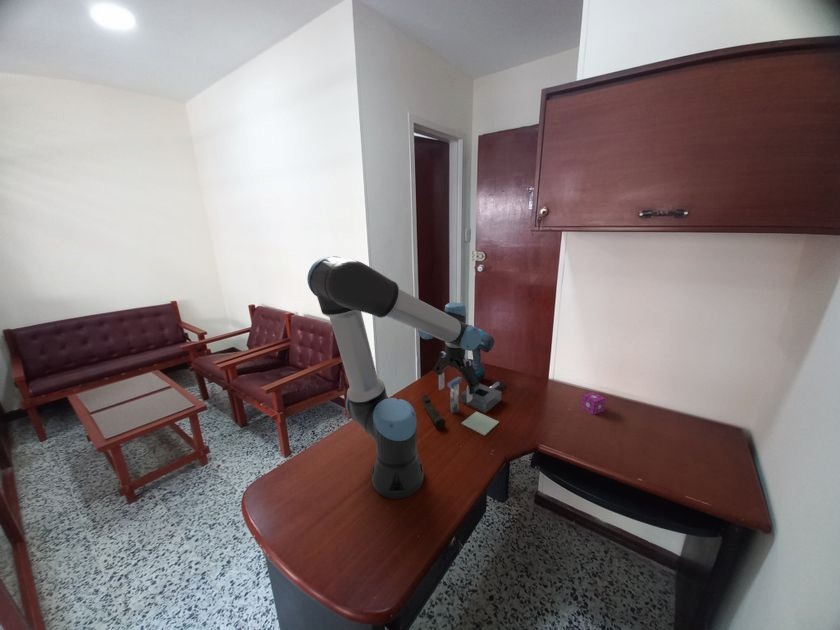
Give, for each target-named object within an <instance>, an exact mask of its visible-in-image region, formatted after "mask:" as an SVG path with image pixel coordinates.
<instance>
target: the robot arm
mask: <svg viewBox="0 0 840 630" xmlns="http://www.w3.org/2000/svg"><path fill="white" fill-rule="evenodd" d="M307 285H308V288H309V290H310V291H311V293H312V294H313V295H314V296H316V297H317V300H318V304H319V307H320V311H321V314H323V315H324V316H326V317H328V318H329V320H330V323H331V327H332V330H333V333H334V337H335V341H336V344H337V347H338V351H339V354H340V358H341V362H342V365H343V367H344V372H345V375H346V379H347V382H348V385H349V387H348V389H347V390H346V391H347V392H346V399H345V408H346V411H347V414H348V415H349V417H350V418H351V419H352V420H353V421H354V422H355V423H357V424H358V425H359V426H360V427H361V429H362V430H363V431H364V432H366V434H368V436H369V437H370V438H371V439H372V440H374V442H375V452H376V453H375V454H376V458H375V461H374V466H373V468H372V472H371V480H372V481H371V482H372V485H373V488H374V490H375V491H376V493H378V494H379V495H380V496H382V497H384V498H387V499H393V500H398V499H404V498H408V497H411V496H412V495H413V494H415V493H416V492H417V491H418V490H419V489H420V488H421V486H422V485H423V482H424V467H423V464H422V462H421V459H420V457H419V455H418V440H417V439H418V438H417V436H418V435H417V432H418V431H417V427H418V425H417V424H418V421H417V416H416V410H415V408H414V407H413V406H412V404H411V403H410V402H409V401H406V400H404V399H403V398H399V399H397V398H396V397H390V398H389V396H388V395H387V394H388V393H387V390H386V385H385V382H384V380H382V379H381V378H378V374H377V371H376V367H375V362H374V359H373V357H374V356H373V354H372V351H371V345H370V342H369V338H368V334H367V330H366V325H365V321H364V318H363V313H365V314H370V315H372V316H375V317H377V318H380V319H381V318H386V317H387V318H389V319H392V320H394V321H397V322H399V323H401V324H404V325H406V326H408V327H412V328H413V329H415V330H417V333H418V335H419V336H420V338H421V339H424V340H429V339H430V340H431V339H434V338H435V339H438V340H440V341H443V342H444V343H445V344H444V350H442V351H440V352H439V353H438V358H437V361H436V363H435V364H434V366H433V369H432V370H433V372H435V373H436V374H437V376H436V377H437V382H438V390H439V391H441V390H443V389H444V388H445V373H444V372H445V370H447V368H448V367H451V368H454V369H456V370H458V372H460V374H461V375H462V377H463V379H464V380H465V382H466V383H467V386H466V390H467V402H470V401H471V400H472V394H473V393H474V387H476V386H478V385H479V383H480V381H478V379H477V376H476V373H475V371H474V368H473V365H472V361H473V359H469V360H468V359H466V357H465V356H466V351H471V352H472V350H474V349H476V348H477V346H478V345H479V343H480V340H481V333H480V330H481V329H480V328H478V327H475V326H473V325H472V324H468V323H467V309H466V305H465V304H464V303H461V302H448V303H447V304H445V306H444V311H442V310H440V309H438V308H436V307H434V306H432V305H430V304H429V303H426V302H425V301H422V299H419V298H418V297H415V296H413V295H411V294H409V293H407V292H406V291H404V290H402V289H400V287H399V284H398V283H397V282H396V281H394V280H392V279H390V278H388V277H387V276H385V275H383V274H382V273H381V272H378V271H377V270H375V269H374V268H372V267H370V266H369V265H368V264H365V263H364V262H361V261H359V260H354V259H348V258H342V257H340V256H326V257H325V256H324V257H322V258H319V259H318V260H316V261H315V262H314V263H313V264H312V265H311V266H310V268H309V270H308V273H307ZM479 329H480V330H479ZM444 359H446V362H445V363H444V364H443V362H444Z"/></svg>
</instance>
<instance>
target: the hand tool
mask: <svg viewBox="0 0 840 630" xmlns="http://www.w3.org/2000/svg"><path fill="white" fill-rule="evenodd" d="M421 400H422V405H423V408H424V410H426V412H427V413H428V415H429V417H430V418H431V421H432V422H433V423H434V428H435V429H437V430H439V429H442V428H443V427H445V425H446V419H445V418H443V417H442V416H441V414H440V412H439V411H438V410H437V409H436V407H435V406H434V404H433V403H432V402H431V401H432V400H431V398H429V396H428V395H427V394H426V393H424V394H423V395H422V396H421Z"/></svg>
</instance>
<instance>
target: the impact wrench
mask: <svg viewBox="0 0 840 630" xmlns="http://www.w3.org/2000/svg"><path fill="white" fill-rule="evenodd" d="M478 329H479V330H480V333H481V340H480V343H479V345H478V346H477V348H476V349H474V350H472V351H471V354H472V365H473V368H474V371H475V373H476V376H477V379H478V381H479V382H480V381H482V380H484V379H485V376H486V371H484V370H485V364H483V363H482V362H481V357H482V356H481V351H483V352H484V353H489V352H490V351H491V350H492V348H493V347H494V344H495V339H494V337H493V336H492V335H491V334H489V333H487V332H486V331H485V330H483V329H480V328H478Z"/></svg>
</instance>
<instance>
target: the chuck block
mask: <svg viewBox="0 0 840 630" xmlns="http://www.w3.org/2000/svg"><path fill="white" fill-rule="evenodd" d="M500 385H501V383H500V382H499V381H496V382H495V383H493V384H491V386H488V385H485V384H482V383H480V382H479V385H478V386H476V387H474V393H473V394H472V400H471V401H470V402H467V389H465V390H464V391H462V392H460V402H461V403H463V404H465V405H467V406H470V407H471V408H474V409H475V410H476V409H477V410H479V411H480V412H482V413H485V414H486V413H487V412H489V411H490V410H491V409H492V408H493V407H495V406H497V404H498V403H500V402H501V401H502V391H501V390H498V389H497V387H499V386H500Z"/></svg>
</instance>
